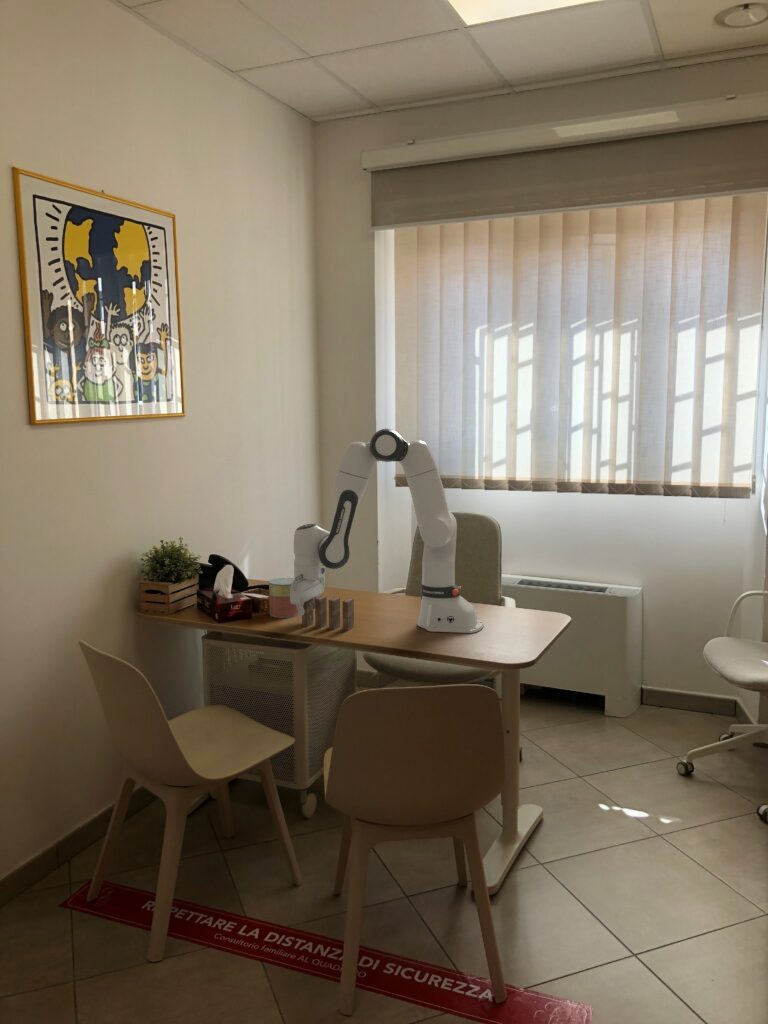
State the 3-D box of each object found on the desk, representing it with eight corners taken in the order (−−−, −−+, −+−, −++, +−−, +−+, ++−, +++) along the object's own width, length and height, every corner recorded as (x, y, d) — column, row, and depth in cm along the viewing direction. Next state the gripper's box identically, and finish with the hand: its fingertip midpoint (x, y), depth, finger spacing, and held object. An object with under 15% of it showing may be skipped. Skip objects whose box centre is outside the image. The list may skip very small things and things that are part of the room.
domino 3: (340, 625, 292) (340, 597, 291) (334, 629, 288) (334, 600, 286) (334, 625, 293) (334, 596, 292) (328, 629, 288) (328, 600, 287)
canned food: (303, 610, 314) (303, 578, 312) (297, 618, 303) (297, 584, 301) (273, 609, 315) (272, 577, 313) (266, 617, 304) (265, 584, 302)
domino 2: (326, 624, 294) (326, 596, 293) (320, 628, 289) (320, 599, 288) (321, 624, 295) (321, 595, 293) (315, 627, 290) (315, 598, 289)
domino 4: (353, 627, 291) (353, 598, 289) (348, 631, 286) (348, 601, 285) (348, 626, 291) (348, 597, 290) (342, 630, 287) (342, 601, 285)
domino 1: (313, 623, 296) (313, 594, 294) (307, 626, 291) (307, 598, 290) (308, 622, 296) (307, 594, 295) (301, 626, 292) (301, 597, 290)
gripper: (302, 578, 281) (302, 619, 282) (327, 567, 300) (328, 605, 301) (284, 577, 283) (285, 618, 285) (311, 565, 302) (311, 604, 304)
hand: (307, 611), depth 293 cm, fingers open, 8 cm apart
